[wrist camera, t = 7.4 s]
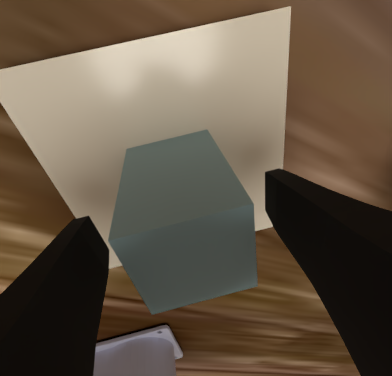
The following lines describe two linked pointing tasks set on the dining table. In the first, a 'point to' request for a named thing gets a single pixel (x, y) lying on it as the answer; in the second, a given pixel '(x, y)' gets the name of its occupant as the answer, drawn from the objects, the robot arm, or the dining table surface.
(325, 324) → the dining table surface
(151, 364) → the robot arm
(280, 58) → the base tile
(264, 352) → the dining table surface
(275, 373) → the dining table surface
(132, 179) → the block
